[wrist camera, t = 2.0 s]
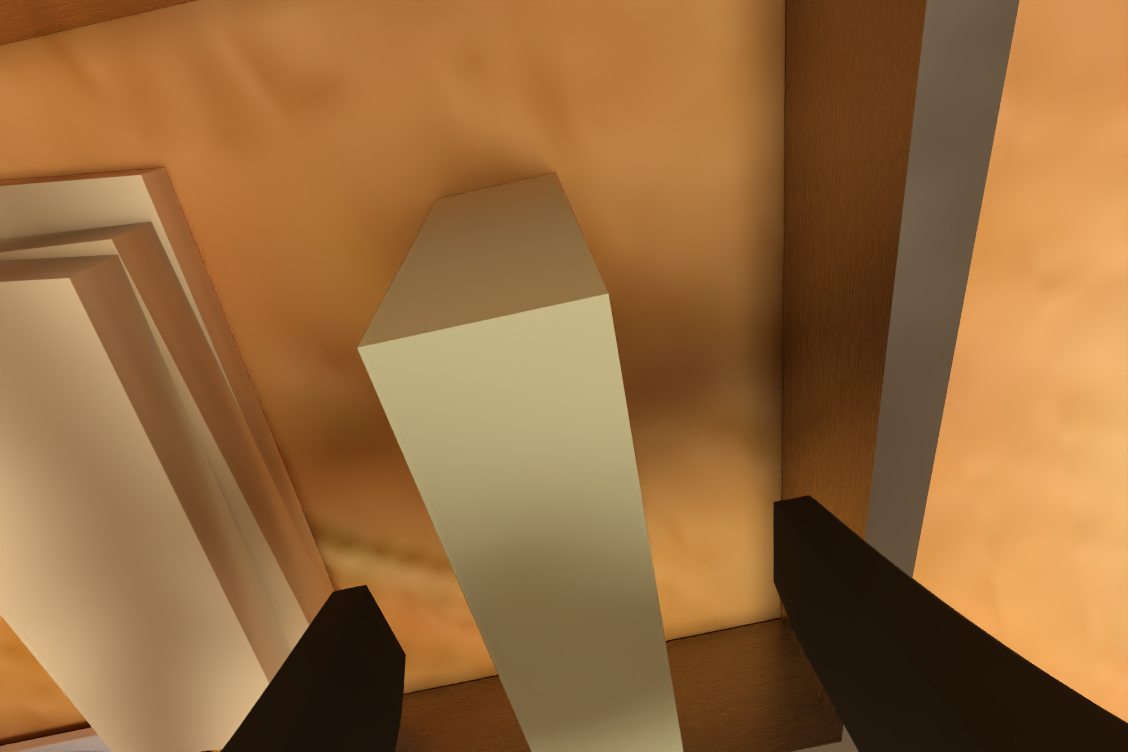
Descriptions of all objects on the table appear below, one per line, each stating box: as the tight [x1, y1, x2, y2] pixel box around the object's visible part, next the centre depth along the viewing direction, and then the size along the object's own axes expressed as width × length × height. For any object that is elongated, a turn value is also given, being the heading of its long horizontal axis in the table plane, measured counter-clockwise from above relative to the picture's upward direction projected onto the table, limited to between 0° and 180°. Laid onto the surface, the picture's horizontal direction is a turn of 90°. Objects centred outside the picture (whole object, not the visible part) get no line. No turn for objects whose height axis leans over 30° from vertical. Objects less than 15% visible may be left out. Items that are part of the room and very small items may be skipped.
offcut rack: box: [0, 0, 1019, 752], centre depth 13 cm, size 18×22×4 cm
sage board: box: [357, 173, 683, 752], centre depth 11 cm, size 2×12×7 cm, turn 11°
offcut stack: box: [0, 168, 334, 752], centre depth 13 cm, size 6×16×4 cm, turn 4°
